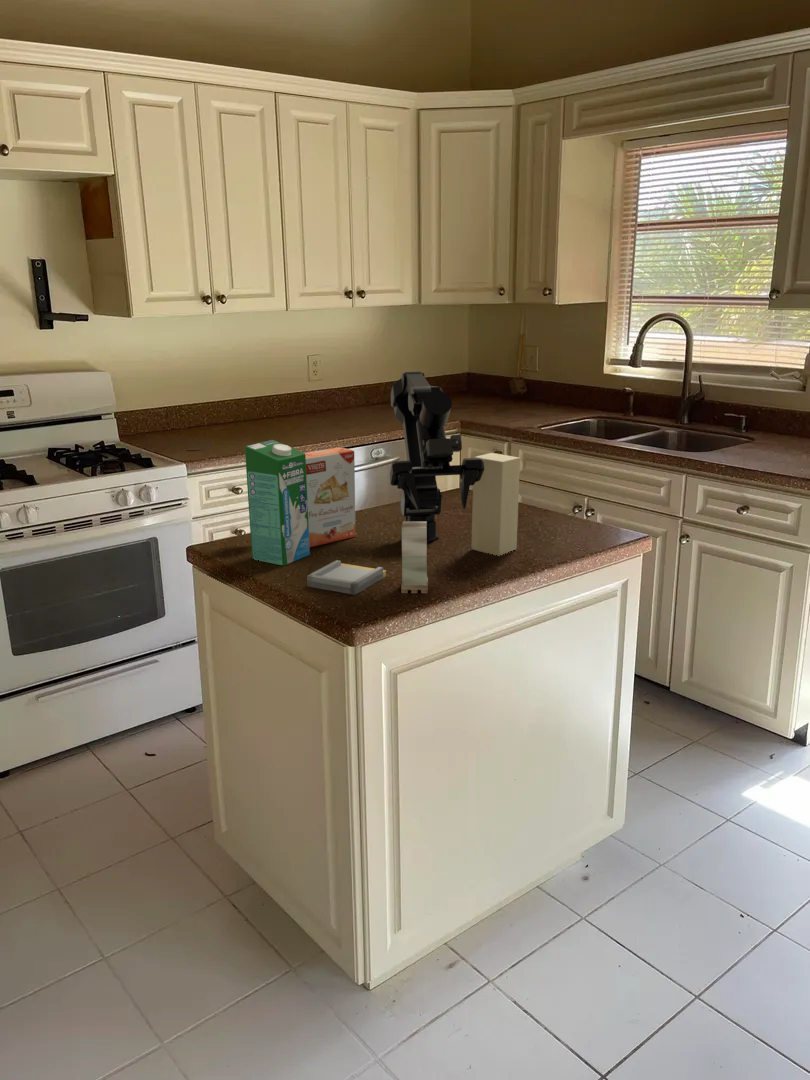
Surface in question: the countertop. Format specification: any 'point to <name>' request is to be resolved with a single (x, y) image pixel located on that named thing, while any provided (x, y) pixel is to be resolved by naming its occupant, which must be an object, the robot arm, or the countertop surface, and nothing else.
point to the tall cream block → (496, 505)
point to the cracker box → (330, 495)
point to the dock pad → (345, 577)
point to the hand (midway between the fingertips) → (441, 509)
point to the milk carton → (277, 502)
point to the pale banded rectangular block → (414, 557)
